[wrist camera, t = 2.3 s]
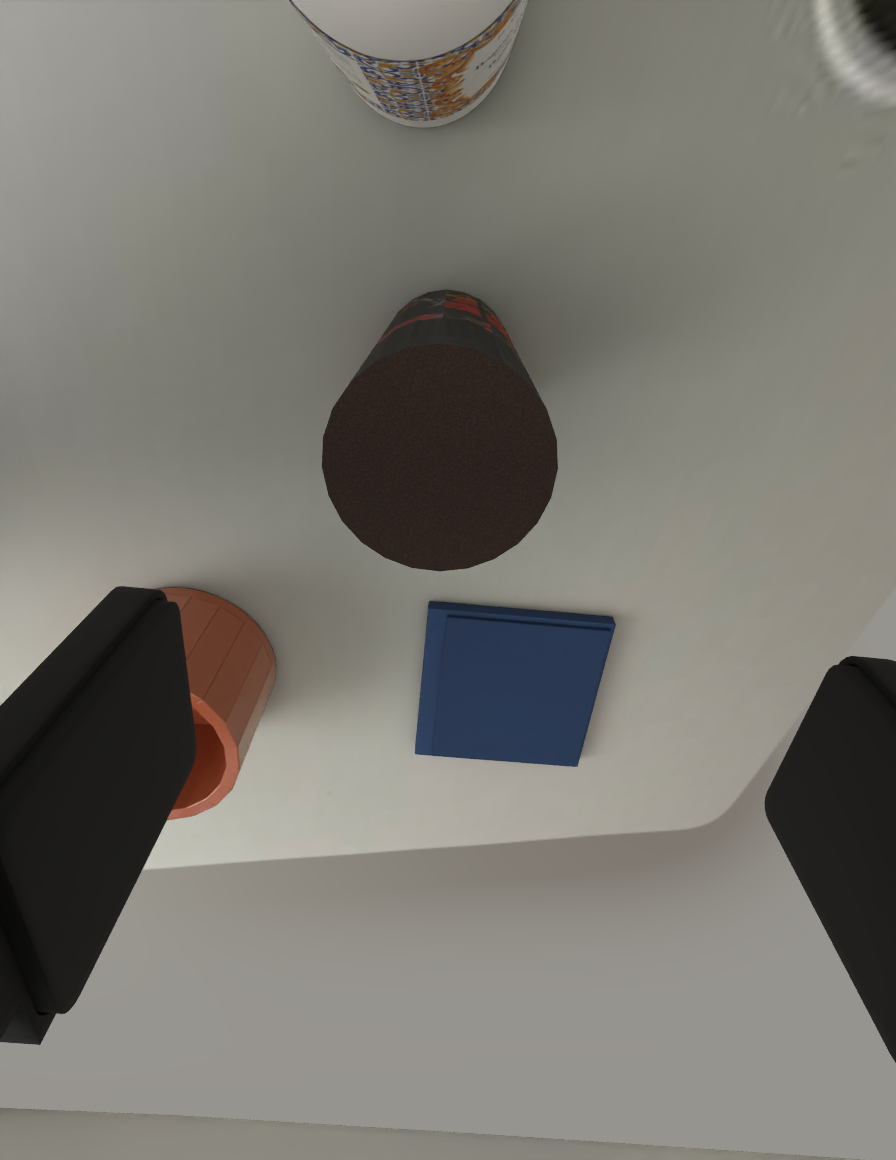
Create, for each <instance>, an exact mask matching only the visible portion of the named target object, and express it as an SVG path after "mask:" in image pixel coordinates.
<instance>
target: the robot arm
mask: <svg viewBox="0 0 896 1160" xmlns="http://www.w3.org/2000/svg"><path fill="white" fill-rule="evenodd" d="M196 750H197V742H196V734H195V727H194V719H193V711H192V703H191V695H190V687H189V679H188V671H187V664H186V656H185V648H184V640H183V632H182V624H181V616H180V610H179V606H178V605H177V603H176V602H172V601H168V600H167V597H166V595H165V593H164V592H163V591H161V590H155V589H145V588H134V587H124V586H120V587H116V588H115V589H113V590H112V591H111V592H110V593H109V594H108V595H107V596H106V597H105V598H104V599H103V600H102V601H101V602H100V603H99V604H98V605H97V606H96V607H95V608H94V609H93V610H92V612H91V613H90V614H89V615H88V616H87V617H86V618H85V619H84V620H83V621H82V622H81V623H80V624H79V625H78V626H77V627H76V628H75V629H74V630H73V631H72V632H71V633H70V634H69V635H68V636H67V637H66V638H65V639H64V640H63V642H62V643H61V644H60V645H59V646H58V647H57V648H56V649H55V650H54V651H53V652H52V653H51V654H50V655H49V656H48V657H47V658H46V659H45V660H44V661H43V662H42V663H41V664H40V665H39V666H38V667H37V668H36V669H35V671H34V672H33V673H32V674H31V675H30V676H29V677H28V678H27V679H26V680H25V681H24V682H23V683H22V684H21V685H20V686H19V687H18V688H17V689H16V690H15V691H14V692H13V693H12V694H11V695H10V696H9V697H8V698H7V700H6V701H5V702H4V703H3V704H2V705H1V706H0V1042H9V1043H24V1044H38V1045H40V1044H41V1042H42V1040H43V1038H44V1036H45V1034H46V1032H47V1030H48V1028H49V1026H50V1024H51V1022H52V1020H53V1019H54V1017H55V1014H56V1013H58V1014H59V1013H60V1014H65V1013H66V1012H68V1011H69V1010H70V1009H71V1008H72V1007H73V1005H74V1004H75V1003H76V1001H77V999H78V997H79V996H80V994H81V992H82V990H83V988H84V986H85V984H86V982H87V980H88V978H89V975H90V974H91V972H92V970H93V968H94V966H95V963H96V961H97V959H98V958H99V955H100V953H101V951H102V949H103V947H104V945H105V943H106V941H107V939H108V937H109V935H110V933H111V931H112V929H113V927H114V925H115V923H116V921H117V919H118V917H119V915H120V913H121V911H122V909H123V907H124V905H125V903H126V901H127V899H128V897H129V895H130V893H131V891H132V889H133V887H134V885H135V883H136V881H137V879H138V877H139V875H140V873H141V871H142V869H143V867H144V865H145V863H146V861H147V859H148V857H149V855H150V853H151V851H152V849H153V847H154V845H155V843H156V841H157V839H158V837H159V835H160V833H161V831H162V829H163V827H164V825H165V823H166V821H167V819H168V817H169V815H170V813H171V811H172V809H173V807H174V805H175V803H176V801H177V799H178V797H179V795H180V793H181V791H182V789H183V786H184V784H185V782H186V780H187V778H188V776H189V774H190V772H191V770H192V768H193V765H194V762H195V757H196ZM765 811H766V816H767V818H768V820H769V822H770V824H771V826H772V828H773V830H774V832H775V834H776V836H777V838H778V840H779V841H780V844H781V845H782V847H783V849H784V851H785V853H786V855H787V857H788V859H789V861H790V863H791V865H792V867H793V869H794V870H795V872H796V874H797V876H798V878H799V880H800V882H801V884H802V886H803V888H804V890H805V892H806V893H807V895H808V897H809V899H810V901H811V903H812V905H813V907H814V909H815V911H816V913H817V915H818V916H819V918H820V920H821V922H822V924H823V926H824V928H825V930H826V932H827V934H828V936H829V937H830V939H831V941H832V943H833V945H834V947H835V949H836V951H837V953H838V955H839V957H840V958H841V961H842V962H843V964H844V966H845V968H846V970H847V972H848V974H849V976H850V978H851V980H852V981H853V983H854V985H855V987H856V989H857V991H858V993H859V995H860V997H861V999H862V1001H863V1003H864V1005H865V1007H866V1008H867V1010H868V1012H869V1014H870V1016H871V1018H872V1020H873V1022H874V1024H875V1026H876V1028H877V1030H878V1031H879V1033H880V1035H881V1037H882V1039H883V1041H884V1043H885V1045H886V1047H887V1049H888V1051H889V1053H890V1054H891V1056H892V1058H893V1059H894V1061H895V1062H896V661H892V660H888V659H877V658H868V657H856V656H850V657H846V658H845V659H843V660H842V661H841V662H840V663H839V665H834V666H832V667H831V668H830V669H829V670H828V672H827V673H826V675H825V677H824V679H823V681H822V683H821V685H820V687H819V689H818V691H817V693H816V695H815V697H814V699H813V701H812V703H811V705H810V707H809V709H808V711H807V713H806V715H805V717H804V719H803V721H802V723H801V725H800V727H799V729H798V731H797V733H796V735H795V737H794V739H793V741H792V743H791V745H790V747H789V749H788V751H787V753H786V755H785V757H784V759H783V761H782V763H781V765H780V767H779V769H778V771H777V773H776V775H775V777H774V779H773V781H772V783H771V785H770V787H769V789H768V791H767V794H766V797H765ZM0 1160H858V1159H845V1158H831V1157H817V1156H803V1155H787V1154H773V1153H758V1152H743V1151H728V1150H714V1149H699V1148H684V1147H669V1146H653V1145H639V1144H625V1143H608V1142H594V1141H578V1140H564V1139H549V1138H533V1137H518V1136H502V1135H487V1134H473V1133H457V1132H441V1131H425V1130H407V1129H392V1128H374V1127H359V1126H342V1125H325V1124H309V1123H294V1122H276V1121H260V1120H243V1119H228V1118H211V1117H194V1116H178V1115H157V1114H133V1113H107V1112H84V1111H83V1112H82V1111H60V1110H59V1111H58V1110H35V1109H10V1108H0Z"/></svg>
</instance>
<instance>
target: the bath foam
mask: <svg viewBox="0 0 896 1160" xmlns="http://www.w3.org/2000/svg"><path fill="white" fill-rule="evenodd" d="M289 1H290V2H291V4H292V5H293V7H294V8H295V9H296V11H297V12H298V14H299V15H300V16H301V18H302V19H303V21H304V22H305V23H306V25H307V26H308V27H309V29H310V30H311V32H312V33H313V34H314V36H315V37H316V39H317V40H318V41H319V43H320V44H321V46H322V47H323V48H324V50H325V51H326V53H327V54H328V55H329V57H330V58H331V60H332V61H333V62H334V64H335V65H336V67H337V68H338V69H339V71H340V72H341V74H342V75H343V76H344V78H345V79H346V80H347V82H348V83H349V84H350V85H351V86H352V88H353V89H354V90H355V92H356V93H357V94H358V95H359V96H360V97H361V98H362V100H363V101H364V102H365V103H367V104H368V105H369V106H370V107H371V108H372V109H374V110H375V111H376V112H378V113H379V114H381V115H382V116H384V117H386V118H387V119H389V120H391V121H394V122H396V123H399V124H402V125H406V126H410V127H418V128H429V127H437V126H441V125H445V124H448V123H451V122H453V121H455V120H457V119H459V118H461V117H463V116H465V115H466V114H468V113H469V112H470V111H472V110H473V109H474V108H475V107H476V106H478V105H479V104H480V103H481V102H482V101H483V100H484V98H485V97H486V96H487V95H488V94H489V92H490V91H491V90H492V88H493V87H494V86H495V84H496V83H497V81H498V79H499V77H500V76H501V74H502V72H503V70H504V68H505V65H506V63H507V61H508V58H509V56H510V53H511V50H512V48H513V45H514V42H515V39H516V36H517V33H518V30H519V27H520V24H521V21H522V18H523V14H524V11H525V8H526V5H527V2H528V0H289Z"/></svg>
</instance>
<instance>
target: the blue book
mask: <svg viewBox="0 0 896 1160" xmlns="http://www.w3.org/2000/svg"><path fill="white" fill-rule="evenodd" d="M615 625H616V624H615V622H614V619H613V617H605V616H593V615H582V614H570V613H558V612H547V611H535V610H524V609H512V608H501V607H489V606H477V605H466V604H454V603H443V602H431V601H430V602H429V607H428V618H427V628H426V639H425V650H424V660H423V671H422V682H421V692H420V703H419V714H418V724H417V735H416V746H415V754H419V755H432V756H443V757H456V758H469V759H482V760H495V761H508V762H521V763H534V764H547V765H560V766H573V767H577V766H578V762H579V759H580V755H581V751H582V748H583V744H584V740H585V736H586V733H587V729H588V725H589V722H590V718H591V714H592V710H593V707H594V703H595V699H596V696H597V692H598V688H599V685H600V681H601V677H602V673H603V670H604V666H605V662H606V659H607V655H608V651H609V647H610V644H611V640H612V636H613V633H614V629H615Z"/></svg>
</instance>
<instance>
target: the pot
mask: <svg viewBox="0 0 896 1160" xmlns="http://www.w3.org/2000/svg"><path fill="white" fill-rule="evenodd" d="M155 590H161V591H163V592H164V593H165V595H166V597H167V600H168V601H172V602H176V603H177V605H178V606H179V610H180V616H181V624H182V632H183V640H184V648H185V656H186V664H187V671H188V679H189V687H190V695H191V703H192V711H193V719H194V727H195V734H196V742H197V750H196V757H195V762H194V765H193V768H192V770H191V772H190V774H189V776H188V778H187V780H186V782H185V784H184V786H183V789H182V791H181V793H180V795H179V797H178V799H177V801H176V803H175V805H174V807H173V809H172V811H171V813H170V815H169V817H168V819H167V820H172V819H178V818H185V817H191V816H194V815H197V814H199V813H201V812H203V811H205V810H208V809H210V808H212V807H214V806H215V805H217V804H218V803H219V802H220V801H221V800H222V799H223V798H224V797H225V796H226V795H227V794H228V793H229V792H230V791H231V790H232V789H233V787H234V785H235V782H236V780H237V777H238V775H239V772H240V769H241V767H242V764H243V762H244V759H245V757H246V754H247V752H248V749H249V747H250V744H251V742H252V739H253V737H254V734H255V732H256V729H257V727H258V724H259V722H260V719H261V717H262V714H263V712H264V709H265V707H266V704H267V701H268V699H269V696H270V694H271V691H272V688H273V686H274V682H275V677H276V663H275V657H274V653H273V650H272V647H271V645H270V643H269V641H268V639H267V637H266V636H265V634H264V633H263V631H262V630H261V629H260V627H259V626H258V625H257V624H256V623H255V622H254V621H253V620H252V619H251V618H250V617H249V616H248V615H247V614H246V613H244V612H243V611H242V610H241V609H239V608H238V607H236V606H234V605H233V604H231V603H230V602H228V601H226V600H224V599H222V598H220V597H217V596H215V595H212V594H209V593H206V592H202V591H198V590H194V589H187V588H160V589H155Z"/></svg>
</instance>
